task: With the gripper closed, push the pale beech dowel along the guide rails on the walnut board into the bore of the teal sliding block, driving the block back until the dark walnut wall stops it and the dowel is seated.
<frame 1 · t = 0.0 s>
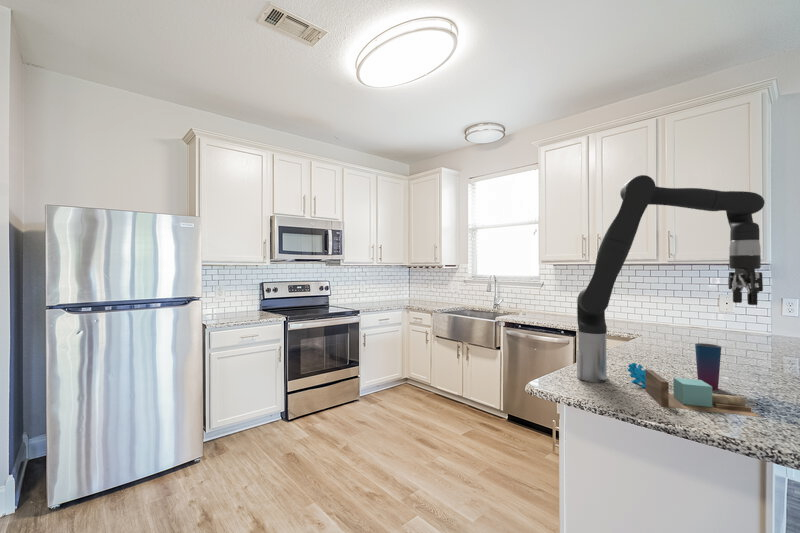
hand: (744, 303, 120), 29 cm above the countertop, fingers open, 8 cm apart
cup: (708, 390, 123), on the countertop
gear: (642, 387, 126), on the countertop
block: (692, 391, 109), point 4 cm above the countertop, slide at 0.0 cm
dowel: (725, 405, 106), point 1 cm above the countertop, touching board
board: (698, 405, 108), on the countertop
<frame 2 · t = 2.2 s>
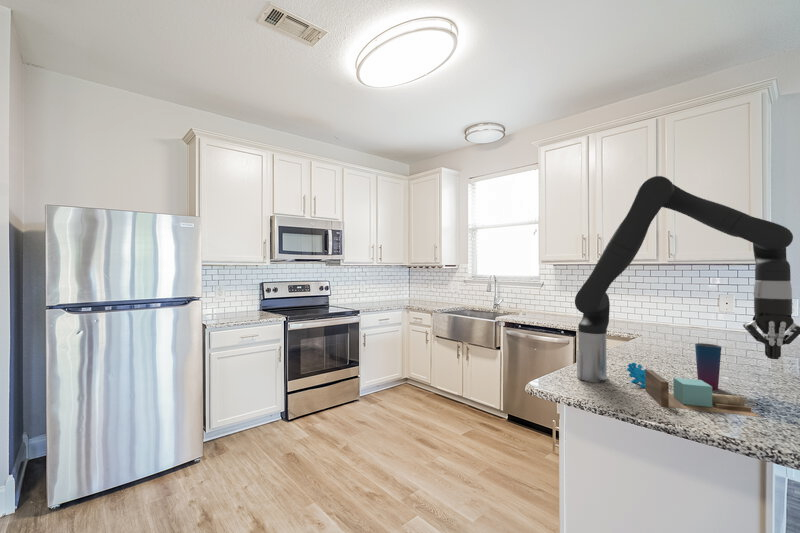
hand: (773, 358, 103), 15 cm above the countertop, fingers closed
dowel: (725, 405, 106), point 1 cm above the countertop, tilted 11°, touching board
everything else where it was.
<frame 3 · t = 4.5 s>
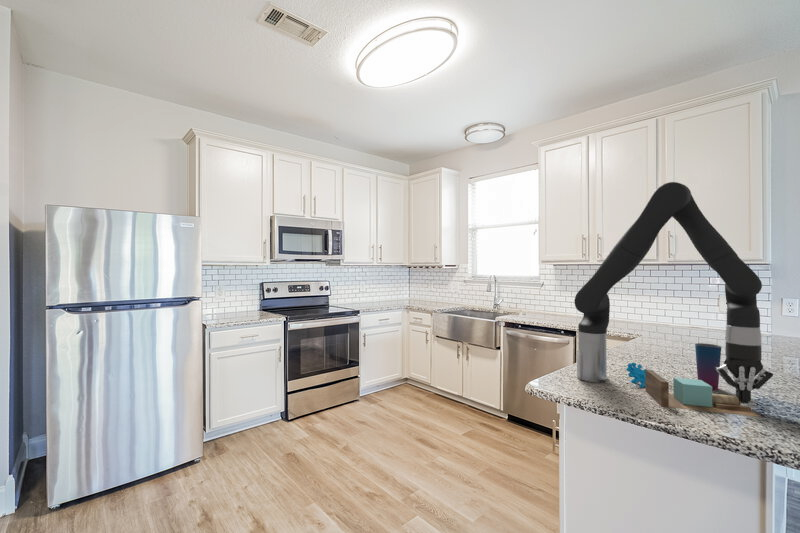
hand: (743, 402, 105), 2 cm above the countertop, fingers closed
dowel: (719, 405, 107), point 1 cm above the countertop, tilted 6°, touching board, gripper
everything else where it was.
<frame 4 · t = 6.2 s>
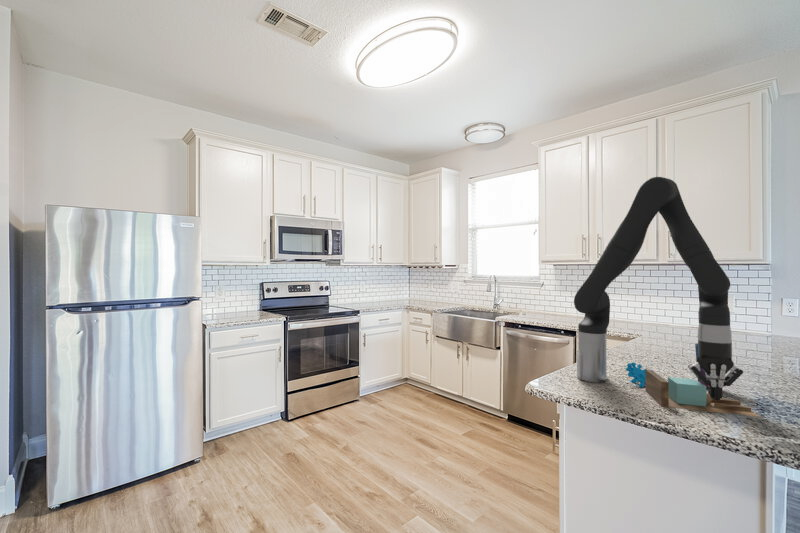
hand: (715, 399, 107), 2 cm above the countertop, fingers closed
block: (686, 391, 109), point 4 cm above the countertop, slide at 1.4 cm
dowel: (692, 402, 109), point 1 cm above the countertop, touching board, gripper
everything else where it was.
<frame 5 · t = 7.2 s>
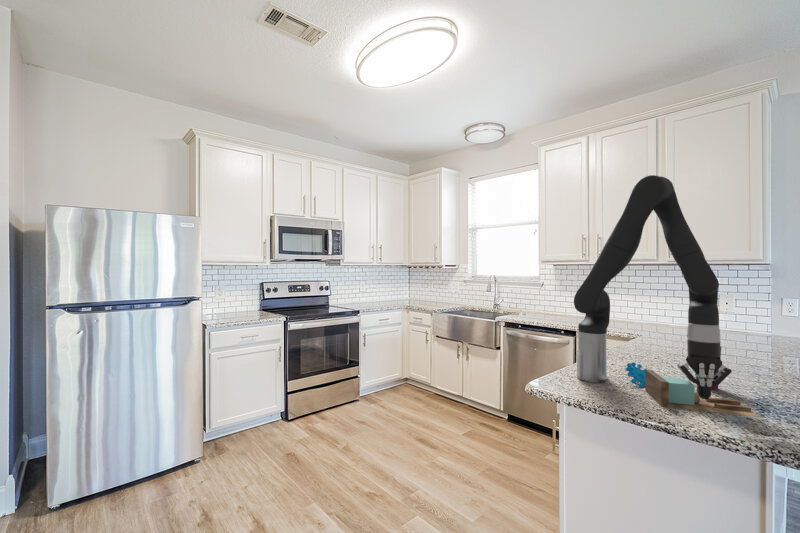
hand: (704, 398, 108), 2 cm above the countertop, fingers closed
block: (675, 390, 110), point 4 cm above the countertop, slide at 4.2 cm, touching dowel
dowel: (681, 401, 109), point 1 cm above the countertop, touching block, board, gripper
everything else where it was.
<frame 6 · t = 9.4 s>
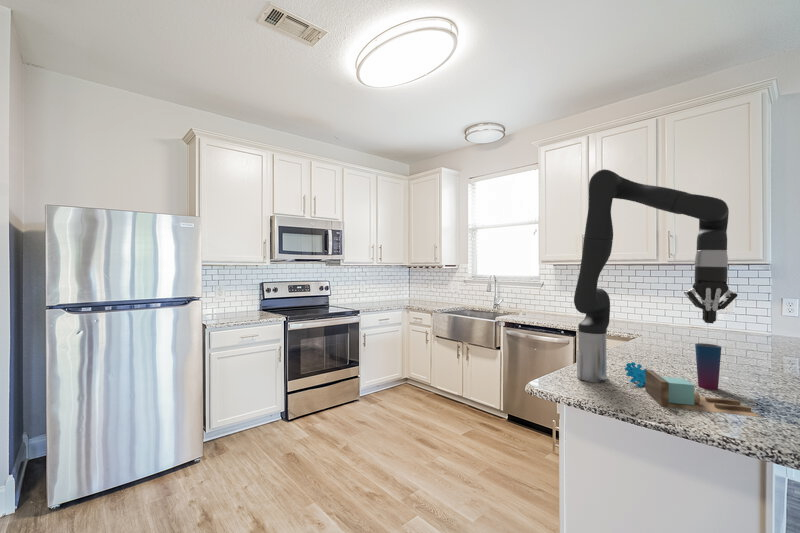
hand: (709, 322, 110), 24 cm above the countertop, fingers closed
block: (675, 390, 110), point 4 cm above the countertop, slide at 4.3 cm
dowel: (681, 401, 109), point 1 cm above the countertop, touching board
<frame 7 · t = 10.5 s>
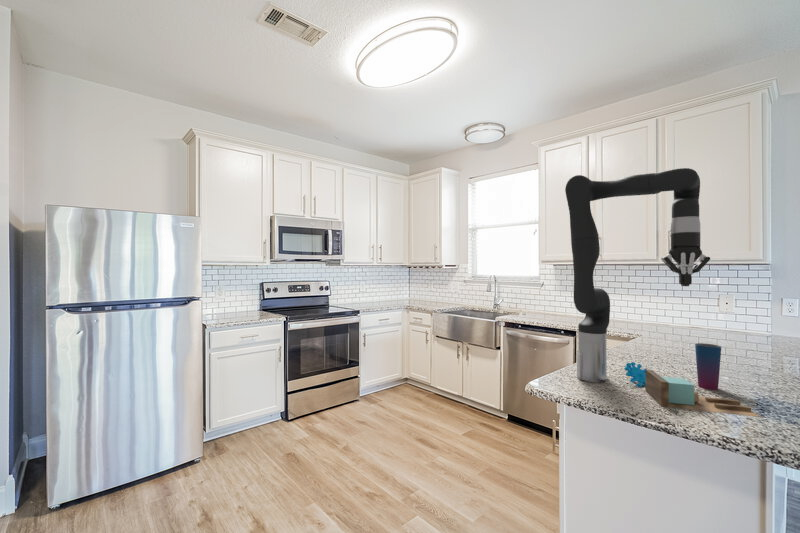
hand: (685, 286, 117), 35 cm above the countertop, fingers closed
dowel: (681, 400, 109), point 1 cm above the countertop, tilted 27°, touching board
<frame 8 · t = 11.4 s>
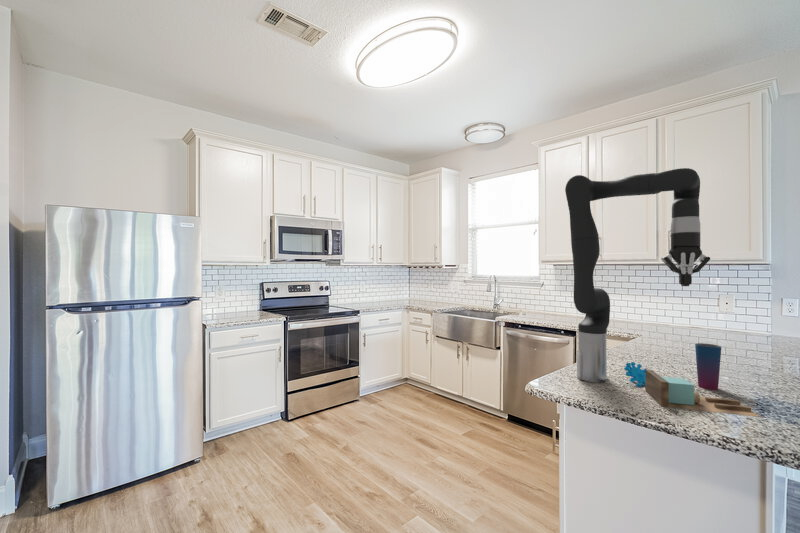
hand: (685, 286, 117), 35 cm above the countertop, fingers closed
dowel: (681, 401, 109), point 1 cm above the countertop, touching board
at the end: dowel 0.2 cm from the target spot on the block, point 0.0 cm above the block's base; block slide at 4.3 cm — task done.
